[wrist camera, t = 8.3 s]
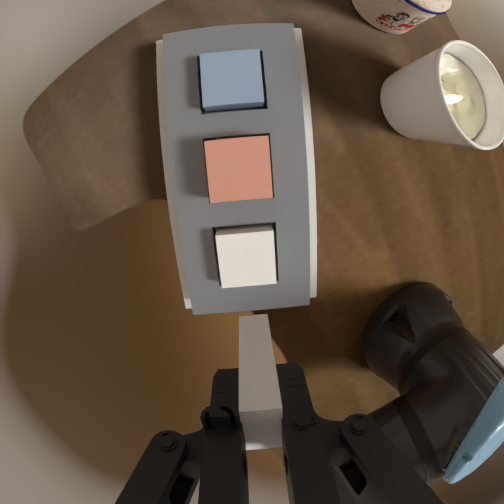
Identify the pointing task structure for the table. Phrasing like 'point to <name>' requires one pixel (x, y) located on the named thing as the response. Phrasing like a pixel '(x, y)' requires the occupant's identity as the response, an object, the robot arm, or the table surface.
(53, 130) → the table surface
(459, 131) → the candle holder
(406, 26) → the teacup with lid
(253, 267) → the white key
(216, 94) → the blue key
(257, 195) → the terracotta key
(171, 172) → the key console
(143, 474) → the robot arm
